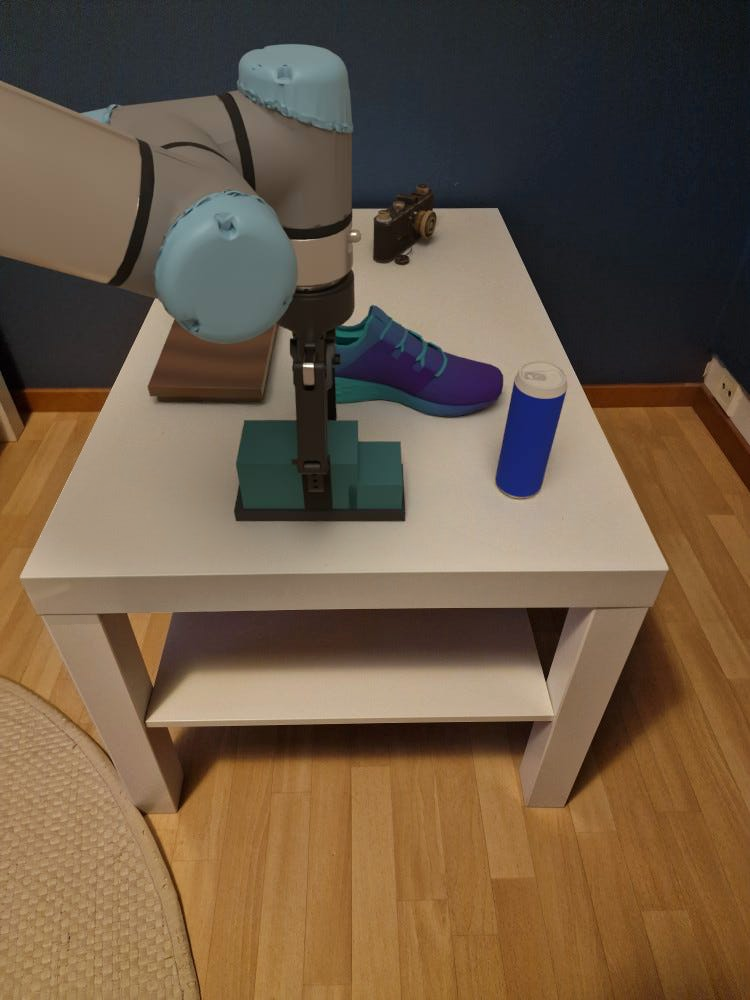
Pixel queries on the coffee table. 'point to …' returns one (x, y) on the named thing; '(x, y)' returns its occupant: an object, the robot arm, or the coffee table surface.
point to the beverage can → (530, 428)
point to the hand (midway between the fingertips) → (321, 459)
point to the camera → (403, 225)
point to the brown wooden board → (211, 368)
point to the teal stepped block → (354, 475)
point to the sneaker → (409, 370)
